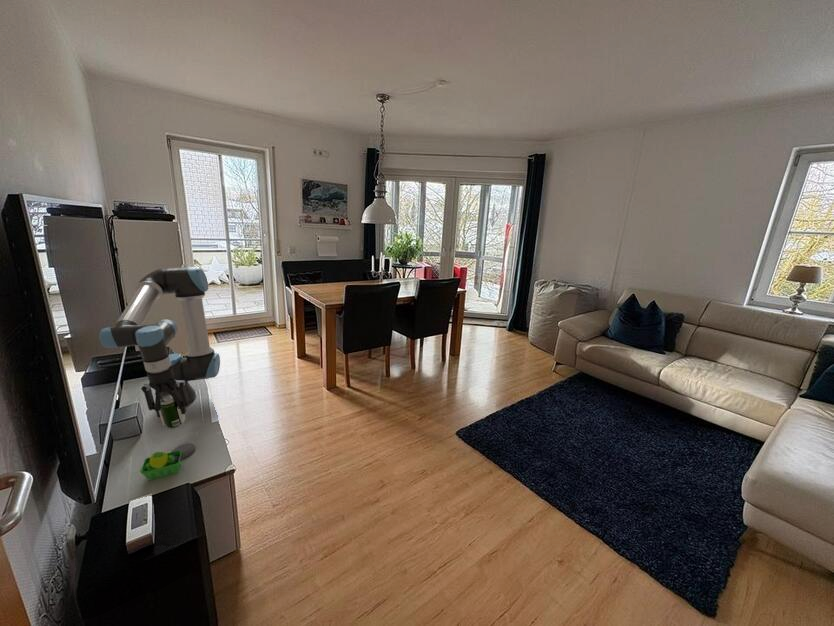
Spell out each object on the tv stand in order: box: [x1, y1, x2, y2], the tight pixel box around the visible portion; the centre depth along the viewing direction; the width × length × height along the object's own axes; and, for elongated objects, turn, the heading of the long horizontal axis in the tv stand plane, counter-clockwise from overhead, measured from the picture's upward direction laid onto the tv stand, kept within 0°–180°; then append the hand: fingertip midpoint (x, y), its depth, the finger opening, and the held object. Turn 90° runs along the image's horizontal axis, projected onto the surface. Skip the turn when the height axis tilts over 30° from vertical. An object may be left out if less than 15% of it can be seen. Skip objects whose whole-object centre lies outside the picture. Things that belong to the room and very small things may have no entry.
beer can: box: [160, 395, 183, 430], centre depth 131 cm, size 5×5×12 cm
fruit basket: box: [139, 450, 181, 481], centre depth 126 cm, size 11×9×11 cm
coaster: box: [171, 442, 196, 461], centre depth 137 cm, size 8×8×1 cm
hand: (174, 421), depth 132 cm, fingers closed on beer can, 5 cm apart
